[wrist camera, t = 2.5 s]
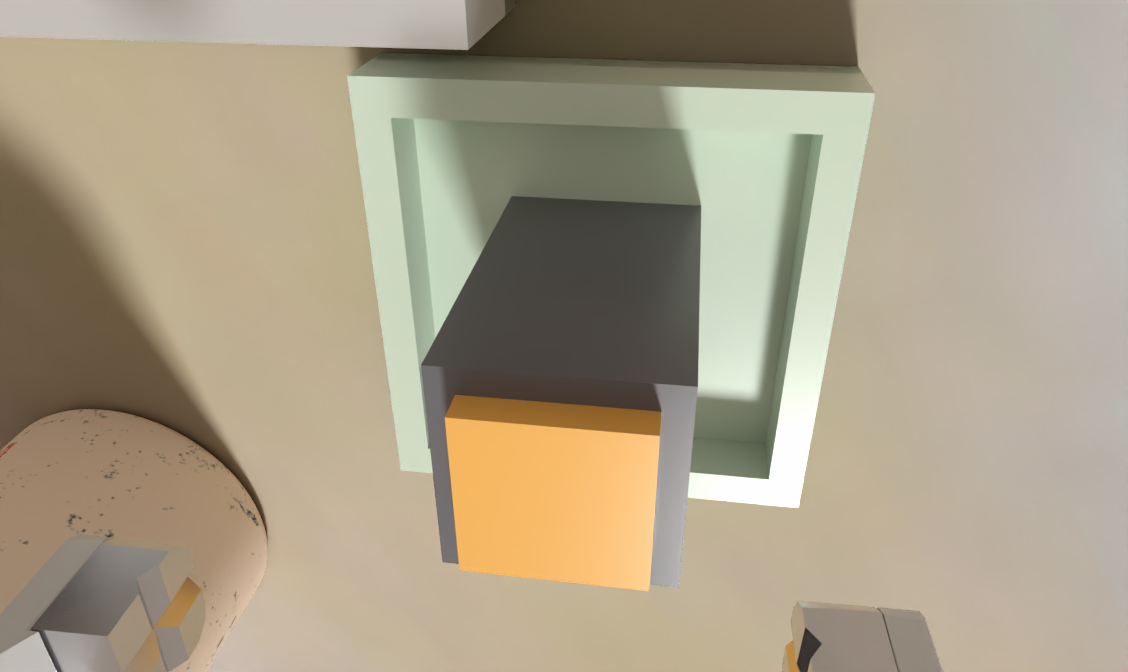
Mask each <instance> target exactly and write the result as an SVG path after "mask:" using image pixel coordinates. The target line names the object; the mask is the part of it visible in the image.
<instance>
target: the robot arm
mask: <svg viewBox="0 0 1128 672" xmlns="http://www.w3.org/2000/svg"><path fill="white" fill-rule="evenodd" d="M194 566H195V565H194V562H193V559H192V556H191V554H190V551H189V548H187V547H183V546H180V545H172V544H164V543H155V542H147V541H139V540H130V539H122V538H109V537H100V536H91V535H82V534H78V535H76V536H74V537H72V538H70V539H68V540H66V541H65V542H64V543H63V544H62V545H61V546H60V548H59V549H58V550H57V551H56V552H55V553H54V554H53V555H52V557H51V558H50V559H49V560H48V561H47V562H46V563H45V564H44V566H43V567H42V568H41V569H40V570H39V571H38V572H37V573H36V575H35V576H34V577H33V578H32V579H31V580H30V581H29V582H28V584H27V585H26V586H25V587H24V588H23V589H22V590H21V591H20V593H19V594H18V595H17V596H16V597H15V598H14V599H13V600H12V602H11V603H10V604H9V605H8V606H7V607H6V608H5V609H4V611H3V612H2V613H1V614H0V672H170V671H172V670H173V669H175V668H176V667H178V666H179V665H181V664H182V663H184V662H185V661H187V660H188V659H189V658H190V656H191V654H192V653H193V651H194V649H195V647H196V646H197V644H198V642H199V640H200V636H201V633H202V629H203V626H204V622H205V599H204V596H203V592H202V589H201V588H200V587H199V586H198V585H196V584H195V583H194V582H193V581H192V580H191V579H190V578H189V577H188V575H189V574H190V572H191V571H192V569H193V568H194ZM791 627H792V634H793V641H791V642H790V643H789V644H787V645H786V647H785V653H784V659H783V665H782V672H943V670H942V667H941V664H940V661H939V658H938V655H937V652H936V649H935V646H934V643H933V640H932V637H931V634H930V631H929V628H928V625H927V622H926V619H925V617H924V616H923V615H922V614H921V613H920V611H912V610H901V609H889V608H877V609H876V608H875V607H868V606H855V605H843V604H830V603H818V602H805V601H797V602H796V604H795V606H794V609H793V613H792V618H791Z"/></svg>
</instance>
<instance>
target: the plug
mask: <svg viewBox="0 0 1128 672" xmlns="http://www.w3.org/2000/svg"><path fill="white" fill-rule="evenodd" d="M700 250H701V206H697V205H677V204H658V203H638V202H618V201H599V200H579V199H559V198H540V197H520V196H511V198H510V200H509V202H508V204H507V206H506V208H505V210H504V211H503V213H502V215H501V217H500V219H499V221H498V223H497V224H496V226H495V228H494V230H493V232H492V234H491V236H490V237H489V239H488V241H487V243H486V245H485V247H484V249H483V250H482V252H481V254H480V256H479V258H478V260H477V262H476V263H475V265H474V267H473V269H472V271H471V273H470V275H469V277H468V278H467V280H466V282H465V284H464V286H463V288H462V290H461V291H460V293H459V295H458V297H457V299H456V301H455V303H454V304H453V306H452V308H451V310H450V312H449V314H448V316H447V317H446V319H445V321H444V323H443V325H442V327H441V329H440V330H439V332H438V334H437V336H436V338H435V340H434V342H433V344H432V345H431V347H430V349H429V351H428V353H427V355H426V357H425V358H424V360H423V362H422V364H421V371H422V380H423V389H424V398H425V407H426V416H427V425H428V434H429V443H430V452H431V461H432V470H433V479H434V488H435V498H436V507H437V516H438V525H439V534H440V543H441V552H442V561H443V562H446V563H456V564H459V570H462V571H471V572H480V573H489V574H498V575H507V576H516V577H525V578H535V579H544V580H553V581H562V582H571V583H580V584H589V585H598V586H607V587H617V588H626V589H635V590H644V591H649V588H650V585H658V586H667V587H676V588H679V583H680V572H681V562H682V551H683V540H684V530H685V519H686V508H687V498H688V487H689V476H690V466H691V455H692V445H693V434H694V423H695V413H696V402H697V391H698V356H699V303H700Z"/></svg>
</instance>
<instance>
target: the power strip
mask: <svg viewBox="0 0 1128 672" xmlns="http://www.w3.org/2000/svg"><path fill="white" fill-rule="evenodd" d="M514 7H515V0H0V37H28V38H63V39H98V40H134V41H169V42H204V43H239V44H274V45H310V46H345V47H380V48H415V49H450V50H469V49H470V48H471V47H472V46H473V45H474V44H475V43H476V42H477V41H478V40H479V39H481V38H482V37H483V36H484V35H485V34H486V33H487V32H488V31H489V30H490V29H492V28H493V27H494V26H495V25H496V24H497V23H498V22H499V21H500V20H501V19H502V18H504V17H505V16H506V15H507V14H508V13H509V12H510V11H511V10H512V9H513V8H514Z"/></svg>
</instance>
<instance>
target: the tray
mask: <svg viewBox="0 0 1128 672" xmlns="http://www.w3.org/2000/svg"><path fill="white" fill-rule="evenodd" d="M347 80H348V87H349V94H350V102H351V109H352V116H353V124H354V131H355V138H356V146H357V153H358V160H359V168H360V175H361V182H362V190H363V197H364V204H365V212H366V219H367V226H368V234H369V241H370V248H371V256H372V263H373V270H374V278H375V285H376V292H377V300H378V307H379V314H380V322H381V329H382V336H383V344H384V351H385V358H386V366H387V373H388V381H389V388H390V395H391V403H392V410H393V417H394V425H395V432H396V439H397V447H398V454H399V461H400V469H401V470H404V471H414V472H425V473H433V470H432V461H431V452H430V443H429V434H428V425H427V416H426V407H425V398H424V389H423V380H422V371H421V364H422V362H423V360H424V358H425V357H426V355H427V353H428V351H429V349H430V347H431V345H432V344H433V342H434V340H435V338H436V336H437V334H438V332H439V330H440V329H441V327H442V325H443V323H444V321H445V319H446V317H447V316H448V314H449V312H450V310H451V308H452V306H453V304H454V303H455V301H456V299H457V297H458V295H459V293H460V291H461V290H462V288H463V286H464V284H465V282H466V280H467V278H468V277H469V275H470V273H471V271H472V269H473V267H474V265H475V263H476V262H477V260H478V258H479V256H480V254H481V252H482V250H483V249H484V247H485V245H486V243H487V241H488V239H489V237H490V236H491V234H492V232H493V230H494V228H495V226H496V224H497V223H498V221H499V219H500V217H501V215H502V213H503V211H504V210H505V208H506V206H507V204H508V202H509V200H510V198H511V196H520V197H540V198H559V199H579V200H599V201H618V202H638V203H658V204H677V205H697V206H701V250H700V303H699V356H698V391H697V402H696V413H695V423H694V434H693V445H692V455H691V466H690V476H689V487H688V498H699V499H709V500H720V501H730V502H741V503H751V504H762V505H772V506H783V507H793V508H798V507H799V502H800V497H801V491H802V486H803V480H804V475H805V470H806V464H807V459H808V453H809V448H810V443H811V437H812V432H813V427H814V421H815V416H816V410H817V405H818V400H819V394H820V389H821V383H822V378H823V373H824V367H825V362H826V357H827V351H828V346H829V340H830V335H831V330H832V324H833V319H834V314H835V308H836V303H837V297H838V292H839V287H840V281H841V276H842V270H843V265H844V260H845V254H846V249H847V244H848V238H849V233H850V227H851V222H852V217H853V211H854V206H855V200H856V195H857V190H858V184H859V179H860V174H861V168H862V163H863V157H864V152H865V147H866V141H867V136H868V130H869V125H870V120H871V114H872V109H873V104H874V98H875V92H874V90H873V89H872V87H871V85H870V84H869V82H868V81H867V79H866V78H865V76H864V74H863V73H862V71H861V70H860V68H859V67H850V66H815V65H781V64H747V63H713V62H679V61H644V60H610V59H576V58H542V57H508V56H473V55H439V54H405V53H380V54H378V55H377V56H375V57H374V58H372V59H371V60H369V61H368V62H366V63H365V64H364V65H362V66H361V67H359V68H358V69H356V70H355V71H353V72H352V73H350V74H349V75H347Z"/></svg>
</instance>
